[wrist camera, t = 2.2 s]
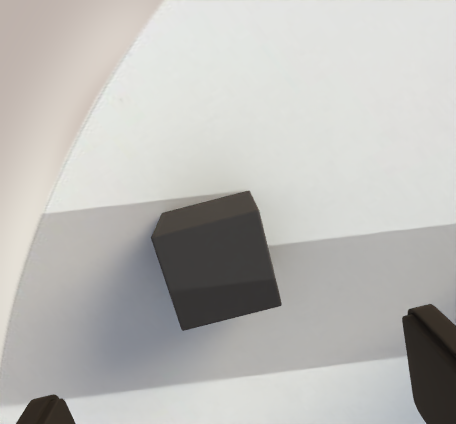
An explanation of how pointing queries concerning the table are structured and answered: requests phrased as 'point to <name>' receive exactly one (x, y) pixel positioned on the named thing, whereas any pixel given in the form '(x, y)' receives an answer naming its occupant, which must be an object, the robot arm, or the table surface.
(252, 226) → the dark block
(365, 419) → the table surface
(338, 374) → the table surface
